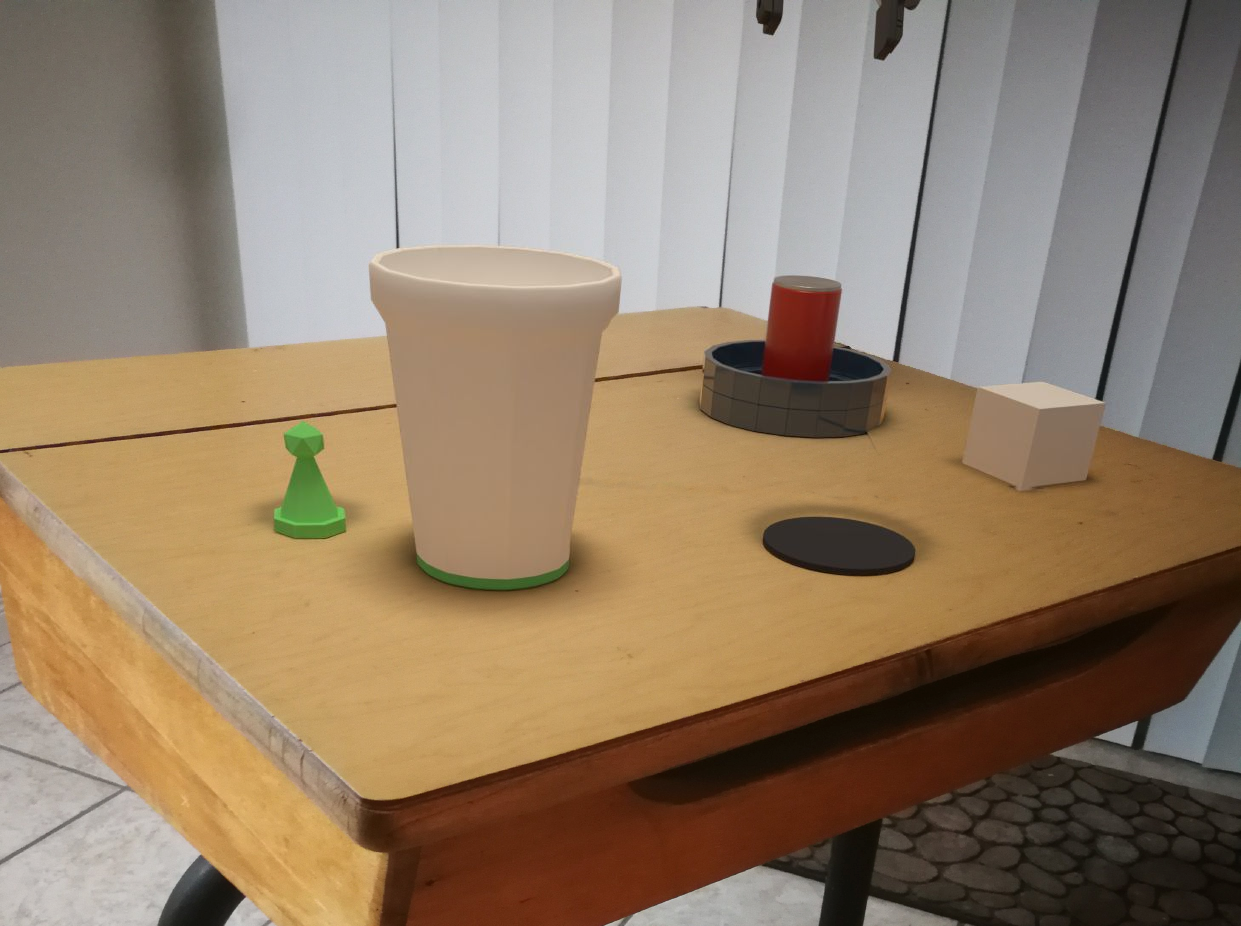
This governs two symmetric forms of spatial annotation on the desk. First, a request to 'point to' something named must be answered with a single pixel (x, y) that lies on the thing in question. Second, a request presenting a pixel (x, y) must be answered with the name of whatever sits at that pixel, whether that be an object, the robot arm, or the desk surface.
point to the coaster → (838, 545)
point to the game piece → (307, 491)
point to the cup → (493, 400)
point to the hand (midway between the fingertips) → (829, 41)
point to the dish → (793, 393)
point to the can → (801, 328)
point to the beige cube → (1032, 434)
